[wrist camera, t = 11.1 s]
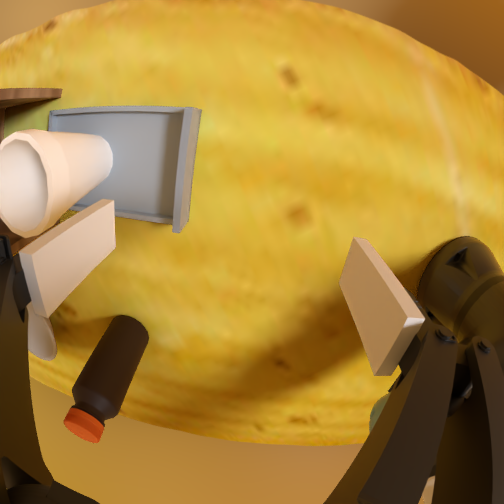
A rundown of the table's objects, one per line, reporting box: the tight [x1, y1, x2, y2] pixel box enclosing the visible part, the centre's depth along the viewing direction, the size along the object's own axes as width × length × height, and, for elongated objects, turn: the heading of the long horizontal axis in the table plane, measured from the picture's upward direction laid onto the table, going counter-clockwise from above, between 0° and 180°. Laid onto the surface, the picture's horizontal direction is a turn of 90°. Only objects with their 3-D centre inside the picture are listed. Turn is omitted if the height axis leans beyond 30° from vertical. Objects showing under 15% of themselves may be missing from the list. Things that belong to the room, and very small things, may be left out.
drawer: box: [48, 106, 202, 233], centre depth 28 cm, size 20×13×4 cm, turn 81°
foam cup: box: [0, 129, 113, 238], centre depth 23 cm, size 10×9×13 cm
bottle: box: [64, 316, 149, 443], centre depth 32 cm, size 7×7×20 cm
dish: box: [26, 302, 57, 361], centre depth 39 cm, size 18×14×5 cm
